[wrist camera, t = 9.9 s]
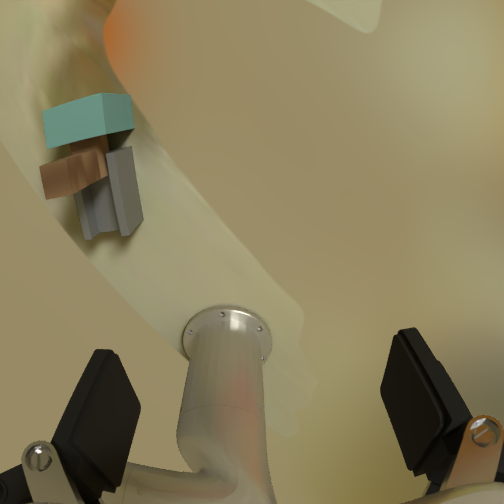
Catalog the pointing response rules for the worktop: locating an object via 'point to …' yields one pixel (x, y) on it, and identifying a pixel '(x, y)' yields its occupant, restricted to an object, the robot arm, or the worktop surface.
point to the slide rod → (76, 168)
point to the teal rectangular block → (87, 118)
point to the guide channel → (111, 198)
